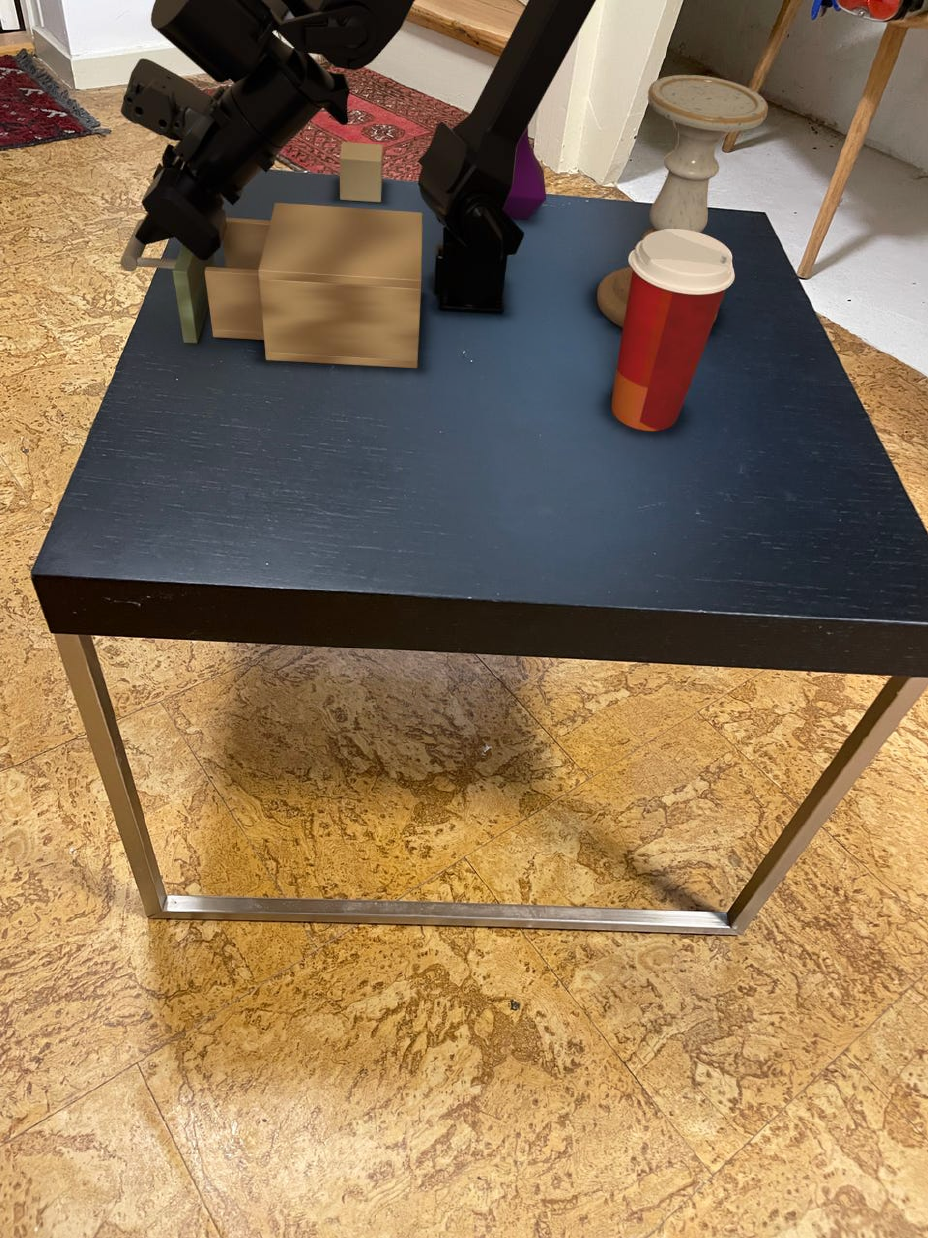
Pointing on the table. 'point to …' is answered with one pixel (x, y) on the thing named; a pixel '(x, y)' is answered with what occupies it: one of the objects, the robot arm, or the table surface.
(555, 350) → the table surface
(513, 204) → the perfume bottle
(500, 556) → the table surface
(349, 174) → the block
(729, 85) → the candle holder
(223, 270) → the drawer
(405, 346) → the cabinet
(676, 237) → the coffee cup
